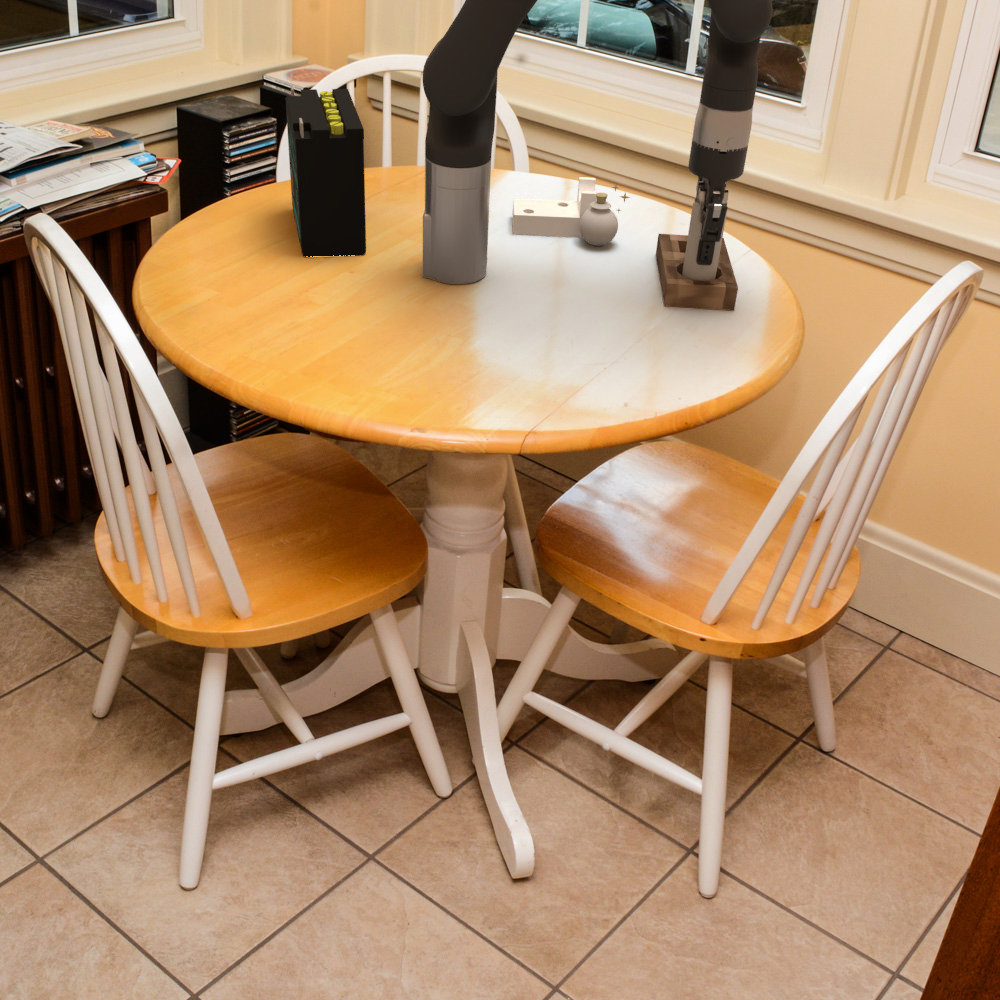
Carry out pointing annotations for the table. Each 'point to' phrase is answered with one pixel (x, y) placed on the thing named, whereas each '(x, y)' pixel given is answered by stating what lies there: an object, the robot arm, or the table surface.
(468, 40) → the robot arm
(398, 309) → the table surface
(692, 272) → the beverage can
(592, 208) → the round potion bottle
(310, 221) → the battery
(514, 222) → the bracket
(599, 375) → the table surface
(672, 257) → the walnut bore block
